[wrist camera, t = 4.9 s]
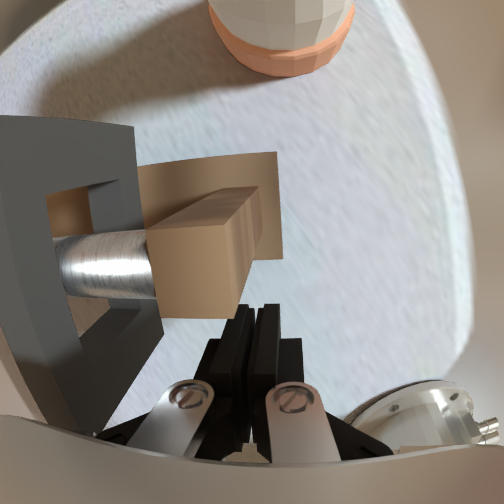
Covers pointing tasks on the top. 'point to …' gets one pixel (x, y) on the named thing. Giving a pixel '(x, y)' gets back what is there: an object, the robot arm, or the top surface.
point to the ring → (48, 275)
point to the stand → (196, 228)
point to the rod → (105, 265)
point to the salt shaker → (282, 32)
